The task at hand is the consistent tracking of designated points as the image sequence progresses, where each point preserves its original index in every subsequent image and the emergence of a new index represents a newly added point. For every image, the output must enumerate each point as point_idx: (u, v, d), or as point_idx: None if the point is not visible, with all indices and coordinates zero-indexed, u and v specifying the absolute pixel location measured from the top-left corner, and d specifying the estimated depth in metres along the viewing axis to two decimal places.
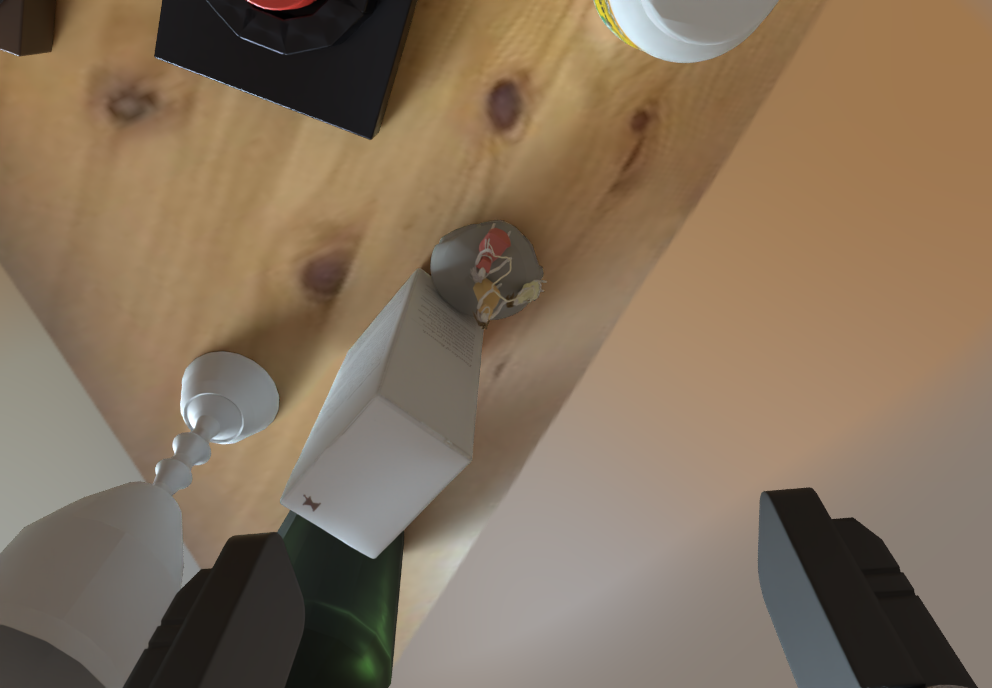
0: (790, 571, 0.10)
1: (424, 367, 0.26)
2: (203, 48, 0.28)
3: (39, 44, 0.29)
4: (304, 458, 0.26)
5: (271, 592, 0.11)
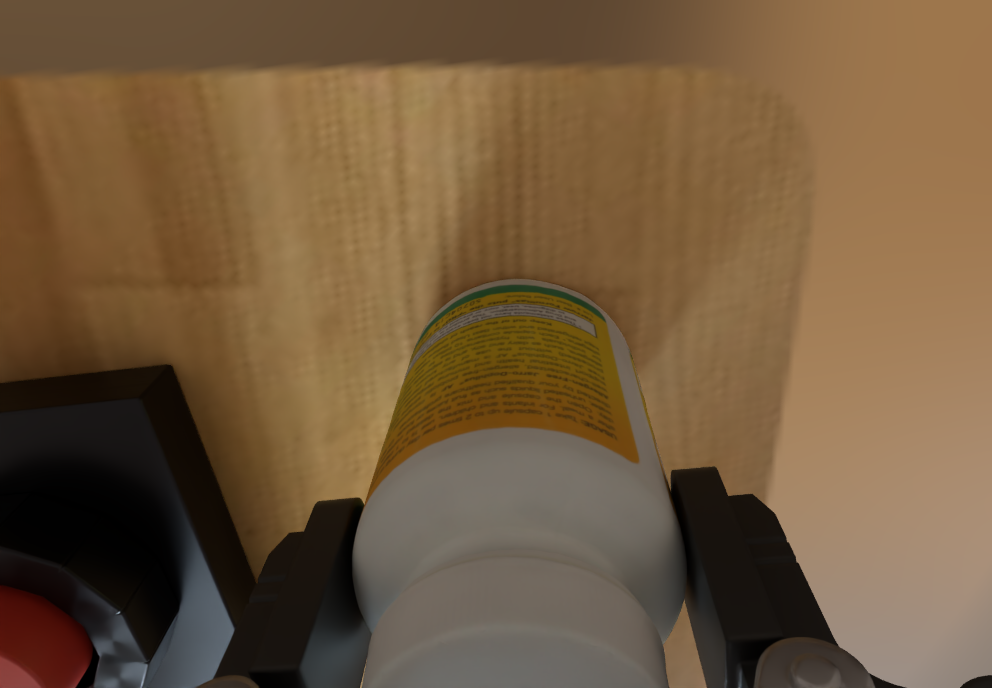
0: (688, 542, 0.11)
1: None
2: None
3: None
4: None
5: None
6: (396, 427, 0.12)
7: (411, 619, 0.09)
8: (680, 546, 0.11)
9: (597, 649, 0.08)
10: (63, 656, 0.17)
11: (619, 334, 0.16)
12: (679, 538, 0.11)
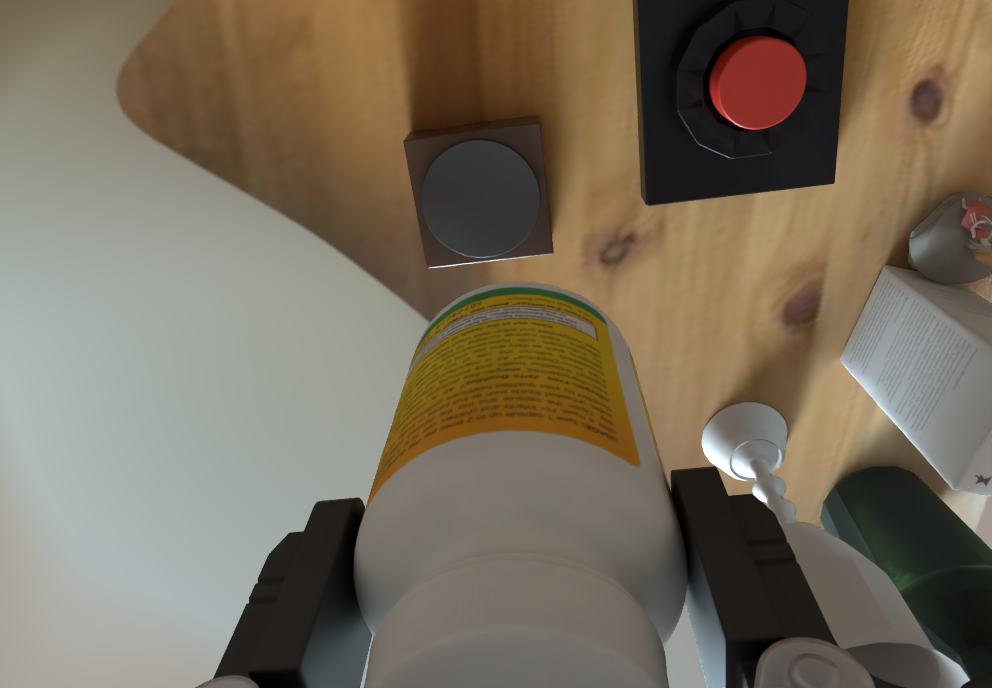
0: (688, 542, 0.11)
1: None
2: (683, 181, 0.34)
3: None
4: (942, 449, 0.31)
5: None
6: (397, 430, 0.12)
7: (412, 623, 0.09)
8: (681, 549, 0.11)
9: (599, 652, 0.08)
10: None
11: (620, 336, 0.16)
12: (680, 541, 0.11)
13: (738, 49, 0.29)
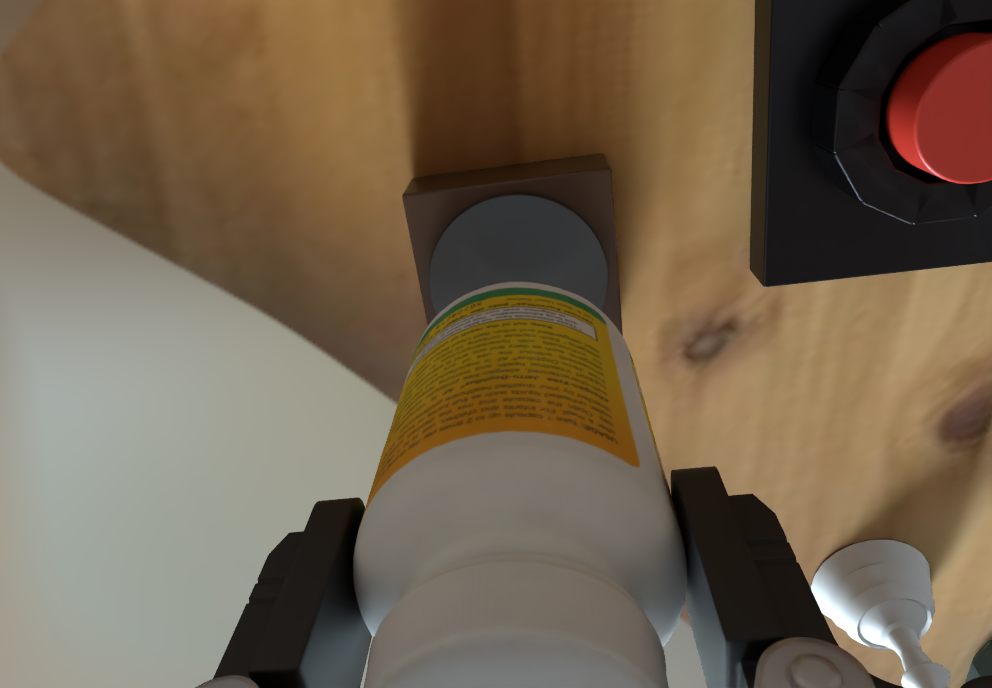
0: (688, 542, 0.11)
1: None
2: (822, 252, 0.23)
3: None
4: None
5: None
6: (397, 430, 0.12)
7: (412, 623, 0.09)
8: (680, 550, 0.11)
9: (598, 653, 0.08)
10: None
11: (619, 337, 0.16)
12: (679, 542, 0.11)
13: (955, 55, 0.18)
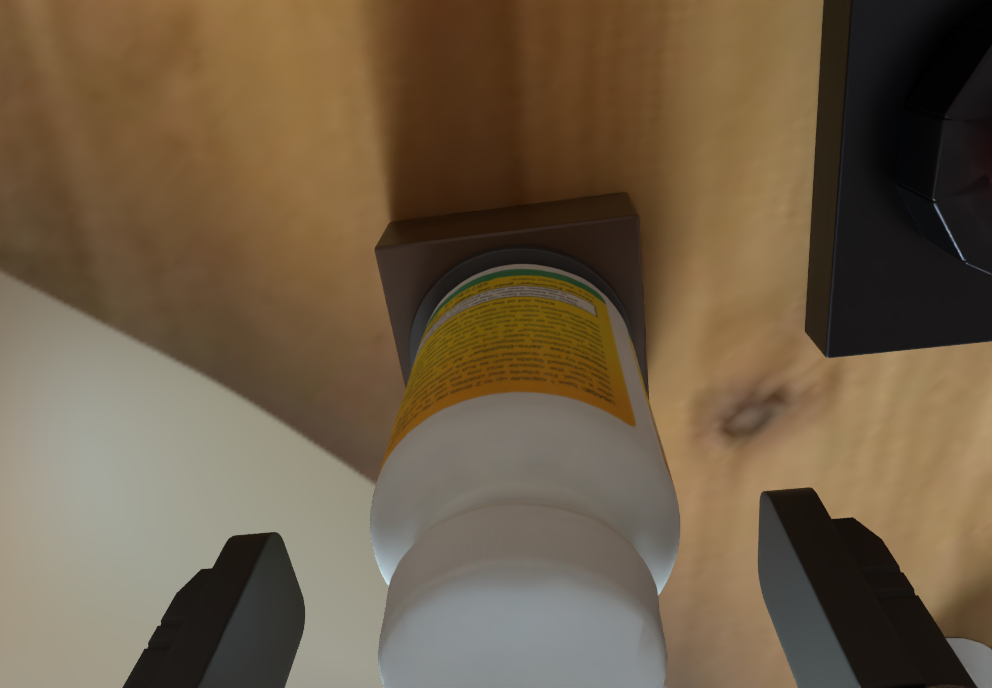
0: (790, 571, 0.10)
1: None
2: (902, 316, 0.18)
3: None
4: None
5: (272, 592, 0.11)
6: (410, 397, 0.13)
7: (427, 559, 0.10)
8: (673, 502, 0.12)
9: (596, 581, 0.09)
10: None
11: (618, 316, 0.17)
12: (672, 495, 0.12)
13: None
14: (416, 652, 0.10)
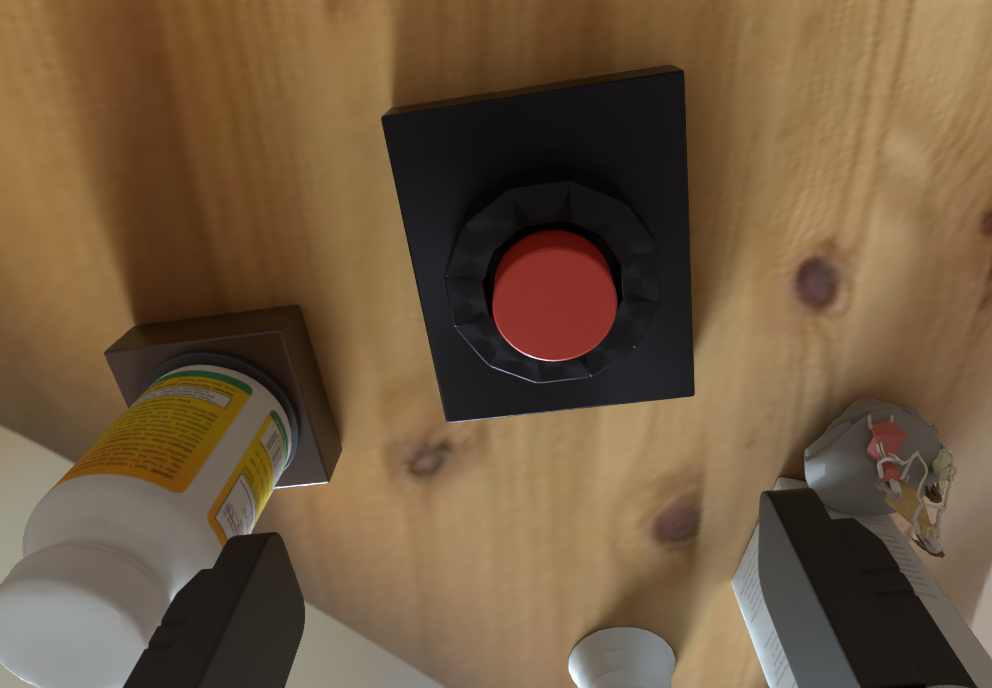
0: (790, 571, 0.10)
1: None
2: (491, 394, 0.26)
3: (334, 455, 0.28)
4: None
5: (272, 592, 0.11)
6: None
7: (5, 578, 0.17)
8: (202, 540, 0.19)
9: (84, 590, 0.16)
10: None
11: (266, 401, 0.24)
12: (202, 535, 0.19)
13: (514, 261, 0.20)
14: (2, 631, 0.17)
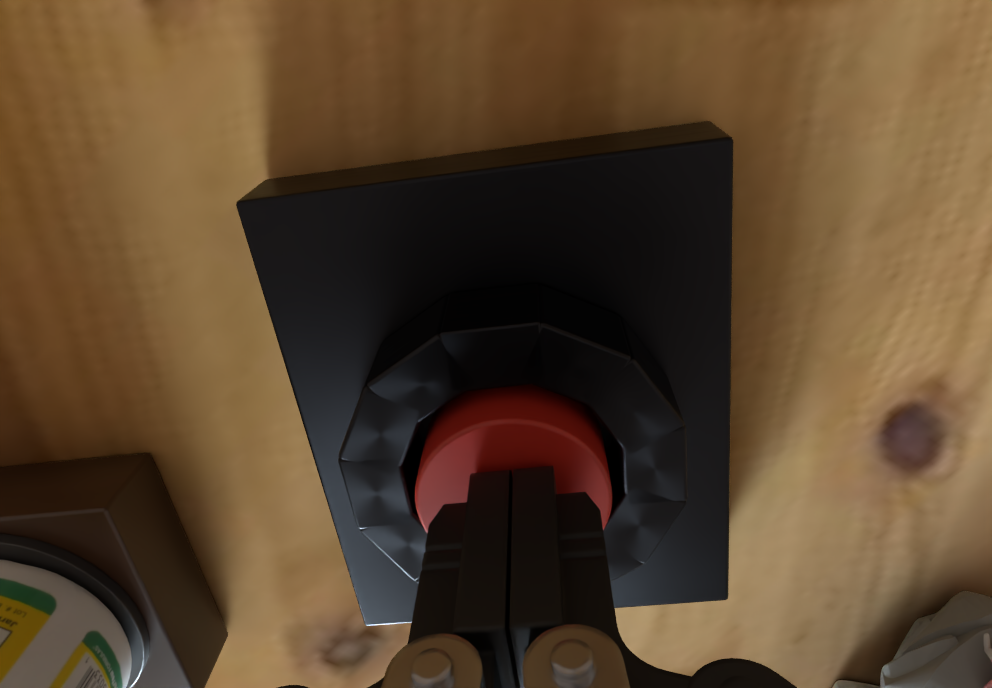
0: None
1: None
2: None
3: (212, 652, 0.20)
4: None
5: None
6: None
7: None
8: None
9: None
10: (606, 460, 0.13)
11: (79, 618, 0.16)
12: None
13: (447, 437, 0.12)
14: None
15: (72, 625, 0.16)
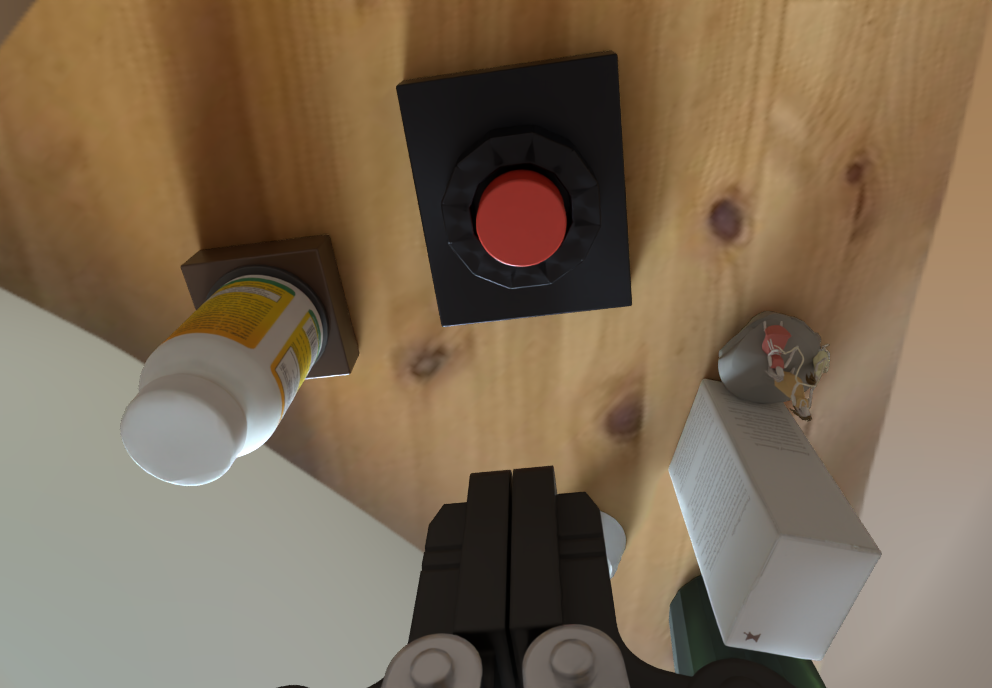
0: None
1: (785, 482, 0.29)
2: (476, 303, 0.33)
3: (354, 355, 0.36)
4: (721, 597, 0.29)
5: None
6: None
7: (137, 394, 0.24)
8: (267, 381, 0.26)
9: (194, 398, 0.24)
10: None
11: (305, 302, 0.32)
12: (267, 378, 0.27)
13: (492, 189, 0.28)
14: (134, 431, 0.25)
15: (303, 303, 0.32)
